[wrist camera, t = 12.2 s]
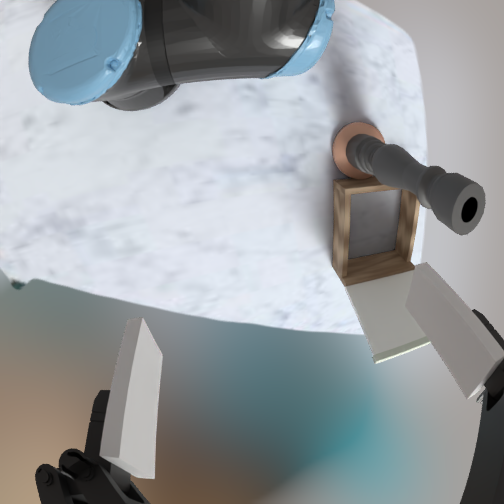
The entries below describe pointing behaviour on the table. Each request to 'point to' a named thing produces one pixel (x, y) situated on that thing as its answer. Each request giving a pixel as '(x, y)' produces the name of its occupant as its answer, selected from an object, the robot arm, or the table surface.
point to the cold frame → (376, 263)
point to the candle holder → (420, 181)
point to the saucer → (342, 142)
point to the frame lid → (387, 316)
